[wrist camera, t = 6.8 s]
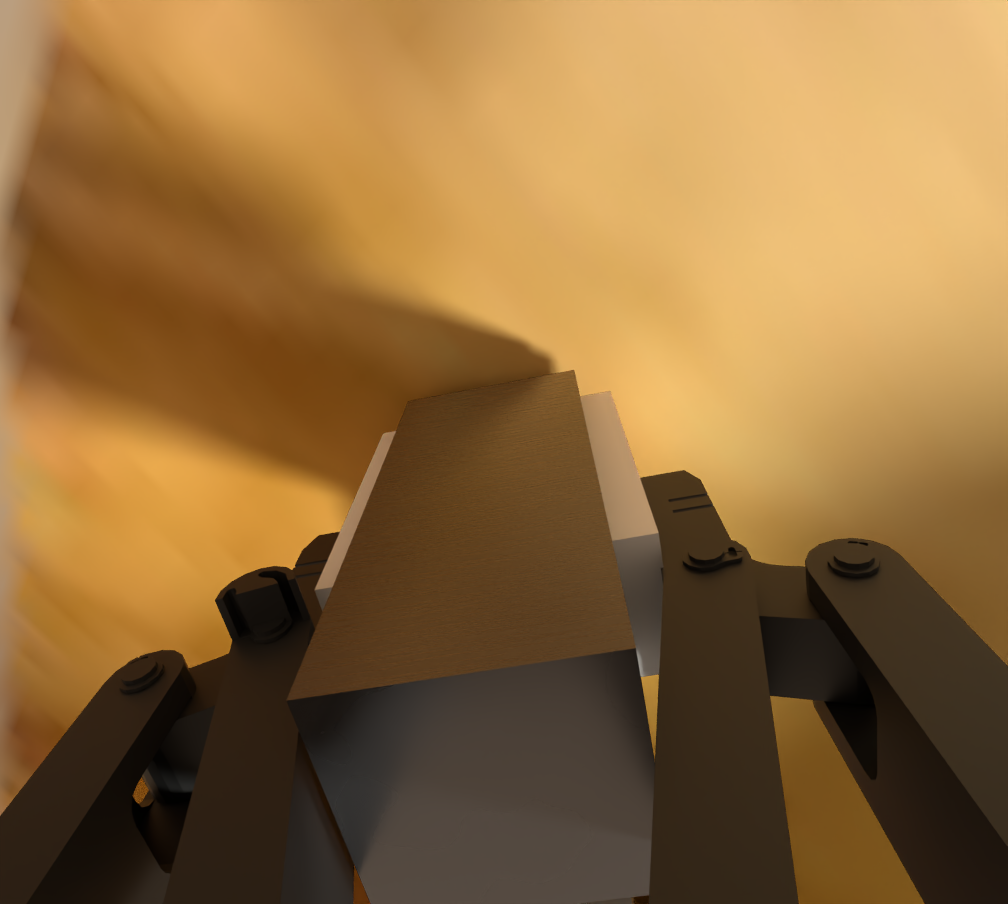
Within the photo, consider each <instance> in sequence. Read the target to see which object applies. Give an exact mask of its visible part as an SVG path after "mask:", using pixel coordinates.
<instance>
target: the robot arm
mask: <svg viewBox="0 0 1008 904" xmlns="http://www.w3.org/2000/svg"><path fill="white" fill-rule="evenodd" d="M580 399H581V404H582V408H583V412H584V417H585V421H586V426H587V430H588V435H589V439H590V444H591V448H592V453H593V457H594V462H595V466H596V471H597V475H598V480H599V484H600V489H601V493H602V498H603V502H604V507H605V511H606V516H607V520H608V525H609V529H610V534H611V538H612V543H613V547H614V552H615V556H616V561H617V565H618V570H619V574H620V579H621V583H622V588H623V592H624V597H625V601H626V606H627V610H628V615H629V619H630V624H631V628H632V633H633V637H634V642H635V646H636V651H637V657H638V663H639V669H640V676H641V677H644V676H651V675H657V674H659V688H658V710H657V732H656V754H655V775H654V797H653V819H652V841H651V863H650V885H649V904H799V903H798V896H797V888H796V881H795V874H794V867H793V859H792V852H791V845H790V838H789V830H788V823H787V816H786V809H785V801H784V794H783V787H782V780H781V772H780V765H779V758H778V751H777V743H776V736H775V729H774V721H773V714H772V707H771V700H770V696H779V697H789V698H799V699H809V700H813V703H814V707H815V709H816V711H817V713H818V714H819V716H820V718H821V720H822V721H823V723H824V725H825V727H826V729H827V730H828V732H829V734H830V736H831V737H832V739H833V741H834V743H835V745H836V746H837V748H838V750H839V752H840V753H841V755H842V757H843V759H844V761H845V762H846V764H847V766H848V768H849V770H850V771H851V773H852V775H853V777H854V778H855V780H856V782H857V784H858V786H859V787H860V789H861V791H862V793H863V794H864V796H865V798H866V800H867V802H868V803H869V805H870V807H871V809H872V810H873V812H874V814H875V816H876V818H877V819H878V821H879V823H880V825H881V826H882V828H883V830H884V832H885V834H886V835H887V837H888V839H889V841H890V842H891V844H892V846H893V848H894V850H895V851H896V853H897V855H898V857H899V858H900V860H901V862H902V864H903V866H904V867H905V869H906V871H907V873H908V875H909V876H910V878H911V880H912V882H913V883H914V885H915V887H916V889H917V891H918V892H919V894H920V896H921V898H922V899H923V901H924V903H925V904H1008V666H1007V665H1006V664H1005V663H1004V662H1003V661H1002V660H1001V659H1000V658H999V657H998V656H997V655H996V654H995V653H994V652H993V650H992V649H991V648H990V647H989V646H988V645H987V644H986V643H985V642H984V641H983V640H982V639H981V638H980V637H979V636H978V635H977V634H976V633H975V632H974V631H973V630H972V629H971V628H970V627H969V626H968V625H967V624H966V623H965V621H964V620H963V619H962V618H961V617H960V616H959V615H958V614H957V613H956V612H955V611H954V610H953V609H952V608H951V607H950V606H949V605H948V604H947V603H946V602H945V601H944V600H943V599H942V598H941V597H940V596H939V595H938V594H937V592H936V591H935V590H934V589H933V588H932V587H931V586H930V585H929V584H928V583H927V582H926V581H925V580H924V579H923V578H922V577H921V576H920V575H919V574H918V573H917V572H916V571H915V570H914V569H913V568H912V567H911V566H910V565H909V564H908V562H907V561H906V560H905V559H904V558H903V557H902V556H901V555H900V554H898V553H897V552H895V551H894V550H893V549H891V548H890V547H888V546H886V545H883V544H880V543H877V542H874V541H870V540H864V539H854V538H848V539H838V540H832V541H829V542H826V543H822V544H819V545H818V546H817V547H815V548H814V549H812V550H811V551H810V552H809V553H808V556H807V558H806V560H805V567H801V566H779V565H769V564H765V563H761V562H757V561H755V560H752V559H751V556H750V554H749V553H748V551H747V549H746V548H745V547H744V546H742V545H741V544H739V543H738V542H736V541H733V540H731V539H730V537H729V535H728V533H727V531H726V529H725V527H724V525H723V523H722V521H721V519H720V517H719V515H718V513H717V511H716V509H715V507H714V506H713V504H712V502H711V500H710V498H709V496H708V495H707V492H706V490H705V488H704V486H703V484H702V482H701V480H700V479H698V478H696V477H695V476H693V475H691V474H690V473H688V472H686V471H685V470H683V471H677V472H671V473H665V474H660V475H654V476H648V477H642V478H640V477H639V474H638V471H637V468H636V465H635V462H634V459H633V456H632V453H631V450H630V447H629V444H628V441H627V438H626V436H625V433H624V430H623V427H622V424H621V421H620V418H619V415H618V412H617V409H616V406H615V403H614V400H613V397H612V394H611V391H608V392H602V393H597V394H591V395H586V396H581V397H580ZM395 433H396V431H393V432H387V433H383V435H382V437H381V440H380V442H379V444H378V446H377V449H376V451H375V453H374V456H373V458H372V460H371V462H370V465H369V467H368V469H367V472H366V474H365V476H364V478H363V481H362V483H361V485H360V487H359V490H358V492H357V494H356V497H355V499H354V501H353V503H352V506H351V508H350V510H349V513H348V515H347V517H346V519H345V522H344V524H343V526H342V528H341V531H340V532H336V533H330V534H324V535H319V536H318V537H316V538H315V539H314V540H313V541H312V542H311V543H310V544H309V545H308V546H307V547H306V548H304V549H303V550H302V552H301V554H300V556H299V558H298V560H297V562H296V564H295V568H293V570H290V569H289V568H287V567H278V566H273V567H267V568H261V569H258V570H255V571H253V572H250V573H247V574H245V575H243V576H241V577H239V578H238V579H236V580H234V581H232V582H231V583H230V584H228V585H227V586H226V587H225V588H224V589H223V590H221V591H220V593H219V595H218V596H217V598H216V599H215V602H216V604H217V606H218V609H219V611H220V613H221V615H222V618H223V620H224V622H225V625H226V627H227V629H228V631H229V634H230V636H231V638H232V645H231V649H230V652H229V654H226V655H224V656H222V657H219V658H217V659H214V660H211V661H208V662H206V663H203V664H200V665H197V666H195V667H192V668H188V666H187V664H186V662H185V659H184V657H183V655H182V654H180V653H178V652H176V651H175V650H161V651H157V652H153V653H148V654H145V655H142V656H140V657H139V658H138V657H137V658H135V659H133V660H131V661H130V662H128V663H127V664H126V665H125V666H123V667H122V668H120V669H119V670H117V671H116V672H115V673H114V674H113V675H112V676H111V677H110V678H109V679H108V680H107V681H106V682H105V683H104V685H103V686H102V687H101V688H100V690H99V691H98V692H97V693H96V695H95V696H94V697H93V699H92V700H91V701H90V702H89V704H88V705H87V706H86V707H85V709H84V710H83V711H82V713H81V714H80V715H79V716H78V718H77V719H76V720H75V721H74V723H73V724H72V725H71V727H70V728H69V729H68V730H67V732H66V733H65V734H64V736H63V737H62V738H61V739H60V741H59V742H58V743H57V744H56V746H55V747H54V748H53V750H52V751H51V752H50V753H49V755H48V756H47V757H46V758H45V760H44V761H43V762H42V764H41V765H40V766H39V767H38V769H37V770H36V771H35V772H34V774H33V775H32V776H31V778H30V779H29V780H28V781H27V783H26V784H25V785H24V787H23V788H22V789H21V790H20V792H19V793H18V794H17V795H16V797H15V798H14V799H13V801H12V802H11V803H10V804H9V806H8V807H7V808H6V809H5V811H4V812H3V813H2V815H1V816H0V904H353V892H354V862H353V860H352V858H351V855H350V853H349V850H348V848H347V846H346V843H345V841H344V838H343V836H342V834H341V831H340V829H339V826H338V824H337V822H336V819H335V817H334V814H333V812H332V810H331V807H330V805H329V802H328V800H327V798H326V795H325V793H324V790H323V788H322V785H321V783H320V781H319V778H318V776H317V773H316V771H315V769H314V766H313V764H312V761H311V759H310V757H309V754H308V752H307V749H306V747H305V745H304V742H303V740H302V737H301V735H300V733H299V730H298V728H297V725H296V723H295V721H294V718H293V716H292V713H291V711H290V709H289V706H288V704H287V701H286V700H287V698H288V695H289V693H290V690H291V688H292V685H293V683H294V680H295V678H296V676H297V673H298V671H299V668H300V666H301V663H302V661H303V658H304V656H305V653H306V651H307V649H308V646H309V644H310V641H311V639H312V636H313V634H314V631H315V629H316V626H317V624H318V622H319V619H320V617H321V614H322V612H323V609H324V607H325V604H326V602H327V599H328V597H329V595H330V592H331V590H332V587H333V585H334V582H335V580H336V577H337V575H338V572H339V570H340V568H341V565H342V563H343V560H344V558H345V555H346V553H347V550H348V548H349V545H350V543H351V541H352V538H353V536H354V533H355V531H356V528H357V526H358V523H359V521H360V518H361V516H362V514H363V511H364V509H365V506H366V504H367V501H368V499H369V496H370V494H371V491H372V489H373V487H374V484H375V482H376V479H377V477H378V474H379V472H380V469H381V467H382V464H383V462H384V460H385V457H386V455H387V452H388V450H389V447H390V445H391V442H392V440H393V437H394V435H395ZM141 777H142V778H143V780H144V782H145V784H146V786H147V787H148V789H149V791H148V793H147V794H146V796H145V798H144V799H143V801H142V802H141V803H140V804H138V803H137V802H136V801H135V799H134V798H133V793H134V791H135V788H136V786H137V783H138V782H139V780H140V779H141Z"/></svg>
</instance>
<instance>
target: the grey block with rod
mask: <svg viewBox="0 0 1008 904" xmlns="http://www.w3.org/2000/svg"><path fill="white" fill-rule="evenodd" d="M286 701H287V704H288V706H289V709H290V711H291V713H292V716H293V718H294V721H295V723H296V725H297V728H298V730H299V733H300V735H301V737H302V740H303V742H304V745H305V747H306V749H307V752H308V754H309V757H310V759H311V761H312V764H313V766H314V769H315V771H316V773H317V776H318V778H319V781H320V783H321V785H322V788H323V790H324V793H325V795H326V798H327V800H328V802H329V805H330V807H331V810H332V812H333V814H334V817H335V819H336V822H337V824H338V826H339V829H340V831H341V834H342V836H343V838H344V841H345V843H346V846H347V848H348V850H349V853H350V855H351V858H352V860H353V862H354V865H355V867H356V870H357V872H358V875H359V877H360V879H361V882H362V884H363V887H364V889H365V891H366V894H367V896H368V899H369V901H370V903H371V904H635V902H634V897H638V896H646V895H649V885H650V863H651V841H652V819H653V797H654V775H655V760H654V754H653V748H652V742H651V736H650V730H649V724H648V718H647V712H646V706H645V700H644V694H643V688H642V682H641V676H640V669H639V663H638V657H637V651H636V646H635V642H634V637H633V633H632V628H631V624H630V619H629V615H628V610H627V606H626V601H625V597H624V592H623V588H622V583H621V579H620V574H619V570H618V565H617V561H616V556H615V552H614V547H613V543H612V538H611V534H610V529H609V525H608V520H607V516H606V511H605V507H604V502H603V498H602V493H601V489H600V484H599V480H598V475H597V471H596V466H595V462H594V457H593V453H592V448H591V444H590V439H589V435H588V430H587V426H586V421H585V417H584V412H583V408H582V404H581V399H580V395H579V390H578V386H577V381H576V377H575V372H574V370H571V371H566V372H561V373H555V374H550V375H545V376H540V377H534V378H529V379H524V380H518V381H513V382H508V383H503V384H497V385H492V386H487V387H482V388H476V389H471V390H466V391H460V392H455V393H450V394H445V395H439V396H434V397H429V398H424V399H418V400H413V401H408V403H407V406H406V408H405V411H404V413H403V415H402V418H401V420H400V423H399V425H398V428H397V430H396V433H395V435H394V437H393V440H392V442H391V445H390V447H389V450H388V452H387V455H386V457H385V460H384V462H383V464H382V467H381V469H380V472H379V474H378V477H377V479H376V482H375V484H374V487H373V489H372V491H371V494H370V496H369V499H368V501H367V504H366V506H365V509H364V511H363V514H362V516H361V518H360V521H359V523H358V526H357V528H356V531H355V533H354V536H353V538H352V541H351V543H350V545H349V548H348V550H347V553H346V555H345V558H344V560H343V563H342V565H341V568H340V570H339V572H338V575H337V577H336V580H335V582H334V585H333V587H332V590H331V592H330V595H329V597H328V599H327V602H326V604H325V607H324V609H323V612H322V614H321V617H320V619H319V622H318V624H317V626H316V629H315V631H314V634H313V636H312V639H311V641H310V644H309V646H308V649H307V651H306V653H305V656H304V658H303V661H302V663H301V666H300V668H299V671H298V673H297V676H296V678H295V680H294V683H293V685H292V688H291V690H290V693H289V695H288V698H287V700H286Z"/></svg>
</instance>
